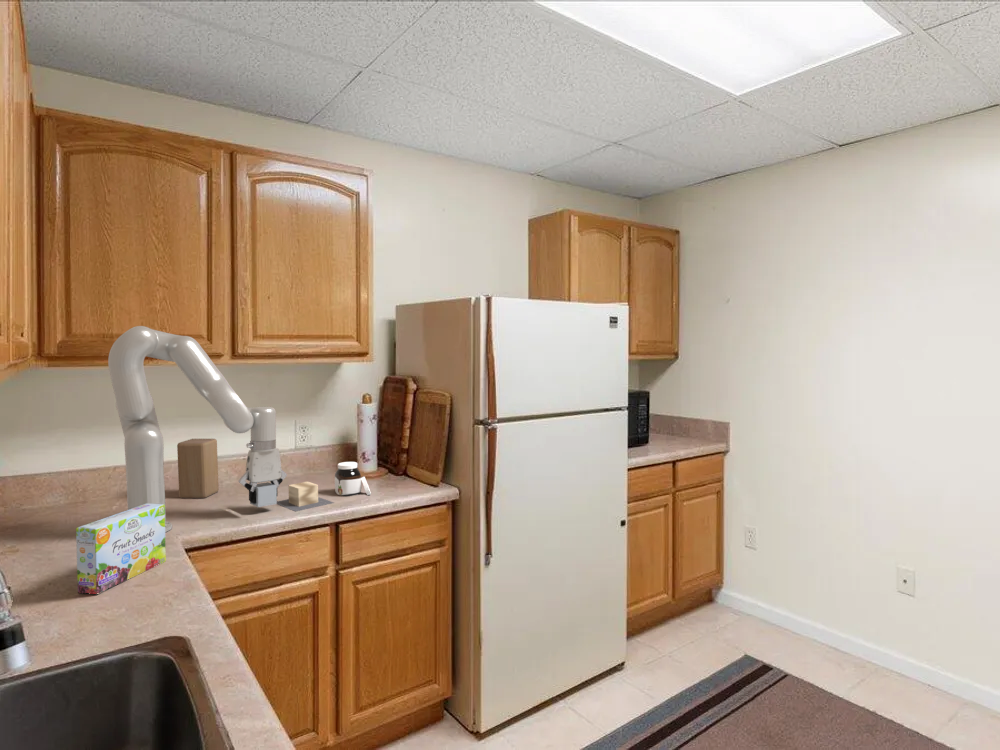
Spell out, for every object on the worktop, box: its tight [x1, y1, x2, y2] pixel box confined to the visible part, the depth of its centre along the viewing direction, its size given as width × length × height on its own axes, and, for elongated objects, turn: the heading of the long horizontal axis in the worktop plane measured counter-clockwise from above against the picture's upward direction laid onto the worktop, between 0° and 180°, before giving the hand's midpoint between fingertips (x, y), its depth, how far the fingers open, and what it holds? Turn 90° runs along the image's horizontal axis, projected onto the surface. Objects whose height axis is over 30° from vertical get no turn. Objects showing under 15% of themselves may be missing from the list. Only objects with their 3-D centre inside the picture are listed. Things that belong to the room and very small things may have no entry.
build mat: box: [276, 496, 335, 512], centre depth 204 cm, size 14×16×1 cm
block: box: [176, 438, 220, 499], centre depth 218 cm, size 10×10×20 cm
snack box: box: [75, 503, 167, 595], centre depth 143 cm, size 21×6×15 cm, turn 170°
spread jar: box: [334, 461, 372, 497], centre depth 216 cm, size 12×11×12 cm
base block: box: [287, 481, 319, 506], centre depth 204 cm, size 7×7×6 cm
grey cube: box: [249, 481, 278, 508], centre depth 194 cm, size 6×6×6 cm
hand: (263, 500), depth 194 cm, fingers closed on grey cube, 6 cm apart
